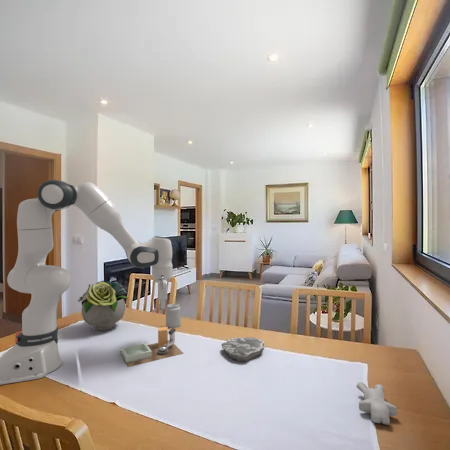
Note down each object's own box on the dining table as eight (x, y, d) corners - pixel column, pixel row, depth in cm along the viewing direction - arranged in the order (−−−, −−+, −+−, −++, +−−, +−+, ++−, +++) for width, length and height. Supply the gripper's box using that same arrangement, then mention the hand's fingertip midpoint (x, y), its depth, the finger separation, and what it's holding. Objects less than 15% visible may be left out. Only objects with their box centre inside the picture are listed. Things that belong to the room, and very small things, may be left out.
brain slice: (235, 340, 136) (235, 333, 136) (269, 348, 128) (269, 341, 128) (212, 357, 119) (212, 349, 119) (250, 367, 111) (250, 359, 111)
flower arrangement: (78, 324, 159) (77, 279, 159) (126, 317, 170) (126, 275, 170) (76, 340, 137) (76, 288, 137) (132, 331, 147) (131, 283, 147)
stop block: (167, 346, 126) (167, 330, 126) (158, 347, 125) (158, 330, 125) (167, 342, 130) (167, 326, 130) (158, 343, 129) (158, 327, 129)
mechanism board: (127, 371, 108) (127, 364, 108) (119, 354, 122) (119, 348, 122) (183, 357, 119) (183, 350, 119) (170, 343, 133) (170, 337, 133)
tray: (126, 363, 111) (126, 356, 111) (121, 353, 119) (121, 347, 119) (151, 357, 116) (151, 351, 116) (145, 348, 124) (145, 342, 124)
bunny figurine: (362, 409, 78) (353, 375, 93) (361, 427, 79) (353, 390, 93) (402, 415, 76) (386, 379, 90) (401, 433, 77) (386, 394, 91)
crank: (164, 352, 118) (164, 338, 118) (157, 351, 119) (157, 337, 119) (177, 341, 128) (177, 328, 128) (171, 340, 129) (171, 328, 129)
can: (173, 331, 147) (172, 307, 147) (163, 328, 152) (162, 305, 152) (183, 327, 153) (183, 304, 153) (173, 324, 158) (173, 302, 158)
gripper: (170, 277, 118) (170, 312, 118) (169, 269, 138) (169, 298, 138) (154, 278, 117) (154, 313, 117) (155, 270, 137) (155, 299, 137)
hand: (162, 305), depth 128 cm, fingers open, 8 cm apart
